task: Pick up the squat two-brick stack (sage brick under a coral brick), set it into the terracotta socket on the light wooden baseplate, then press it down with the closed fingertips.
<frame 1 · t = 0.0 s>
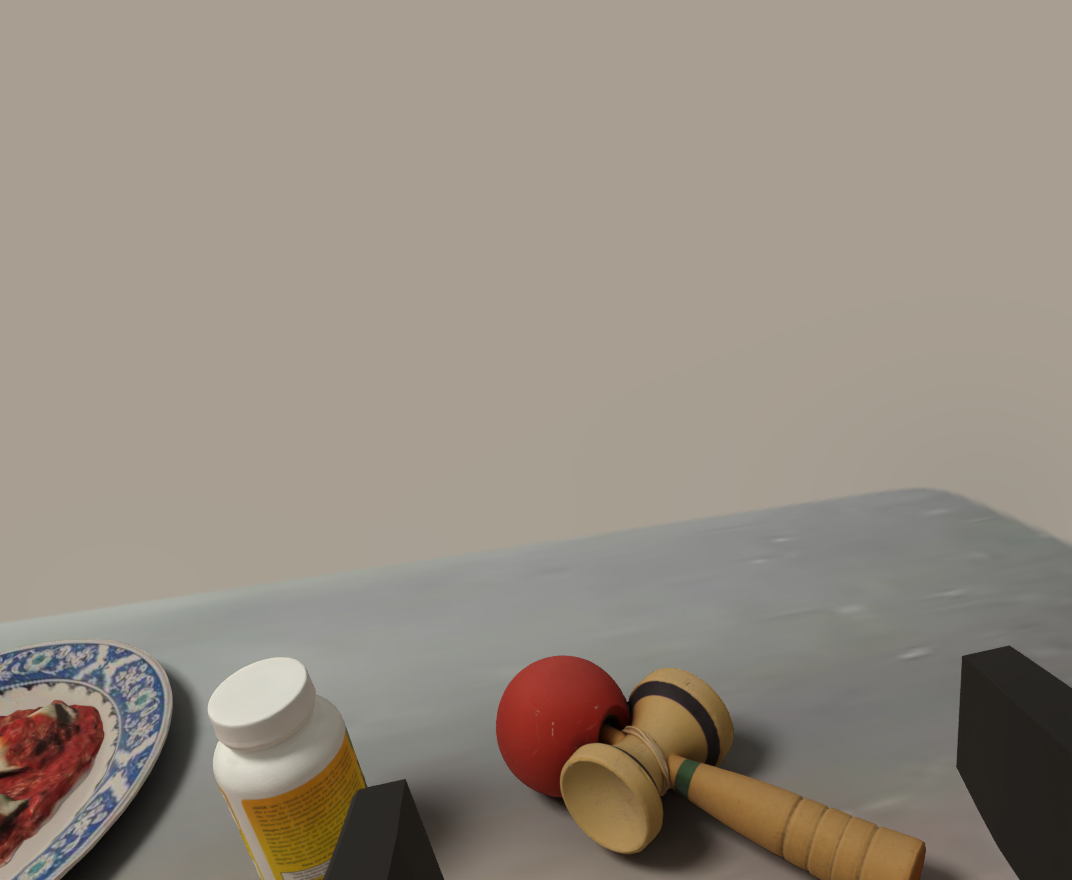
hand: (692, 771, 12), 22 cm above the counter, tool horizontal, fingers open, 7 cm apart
supplement bottle: (328, 862, 40), on the counter
kendama: (696, 824, 38), on the counter
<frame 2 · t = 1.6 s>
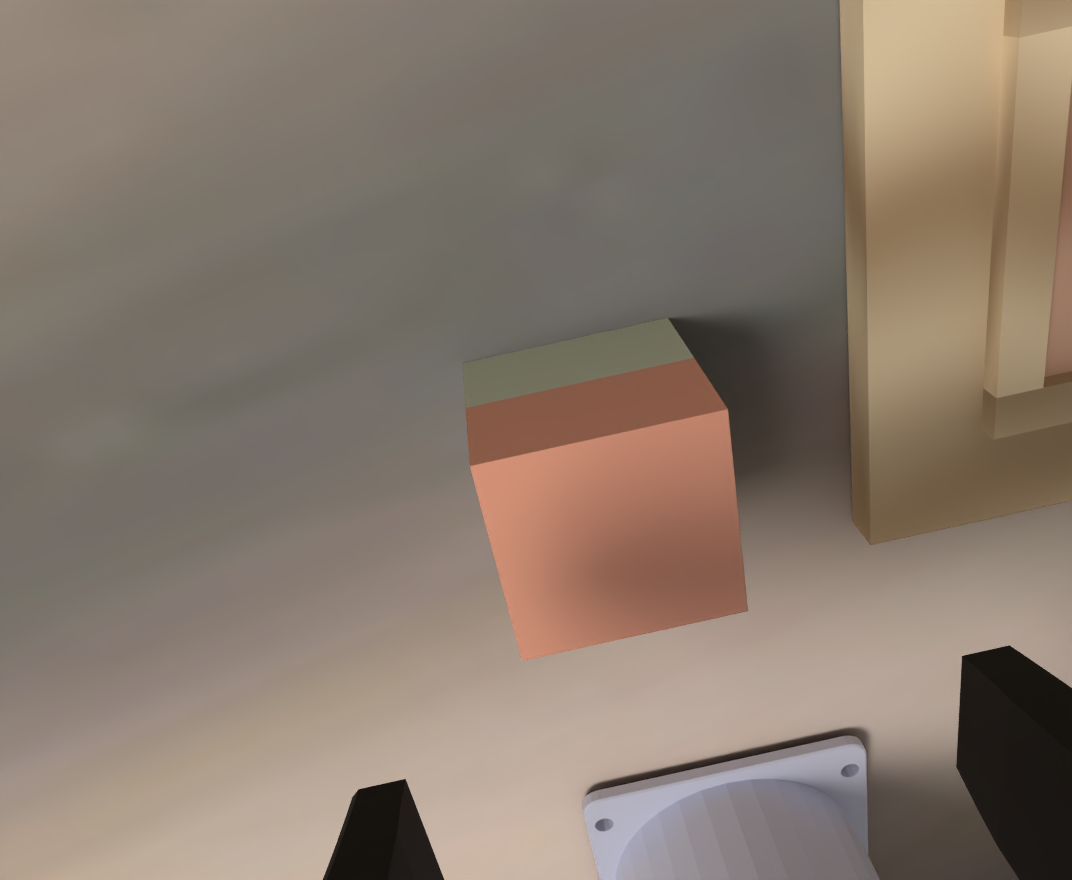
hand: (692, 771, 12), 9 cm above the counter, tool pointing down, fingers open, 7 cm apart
brick stack: (581, 429, 20), on the counter
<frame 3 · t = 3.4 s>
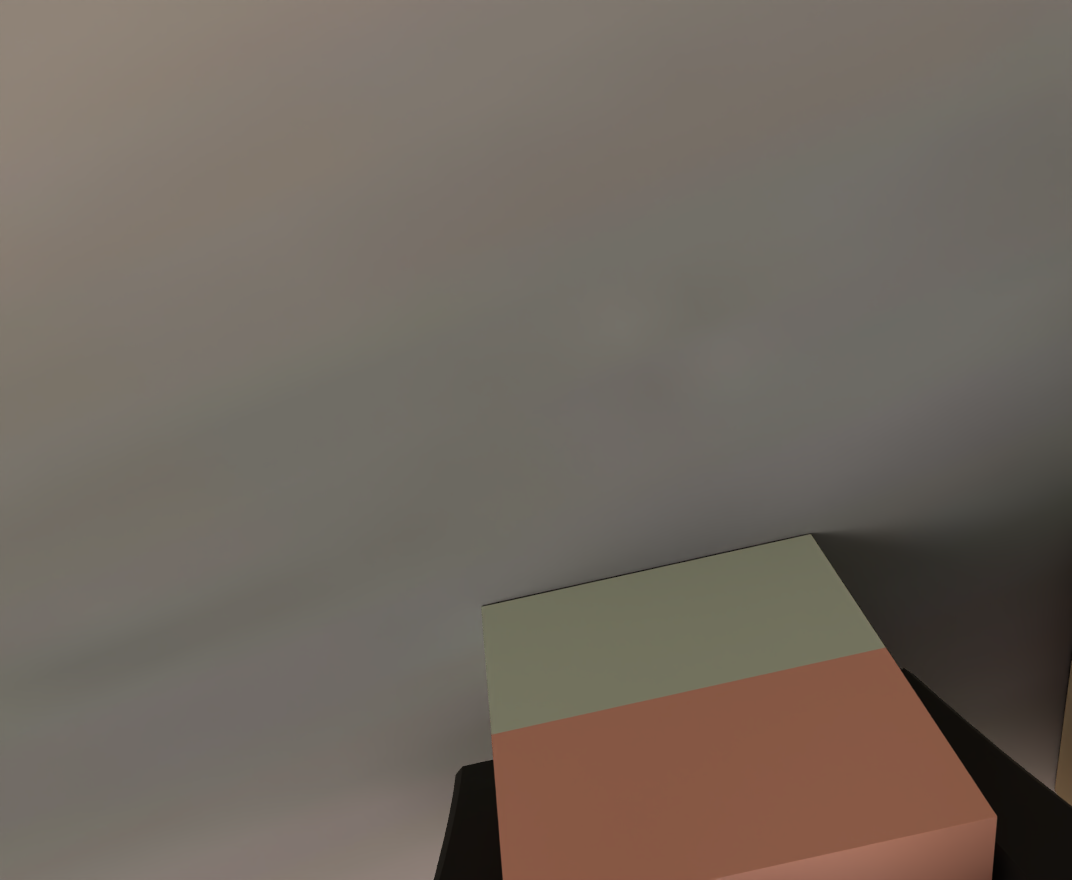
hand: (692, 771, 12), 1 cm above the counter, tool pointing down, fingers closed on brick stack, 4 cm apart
brick stack: (666, 692, 13), on the counter, touching gripper
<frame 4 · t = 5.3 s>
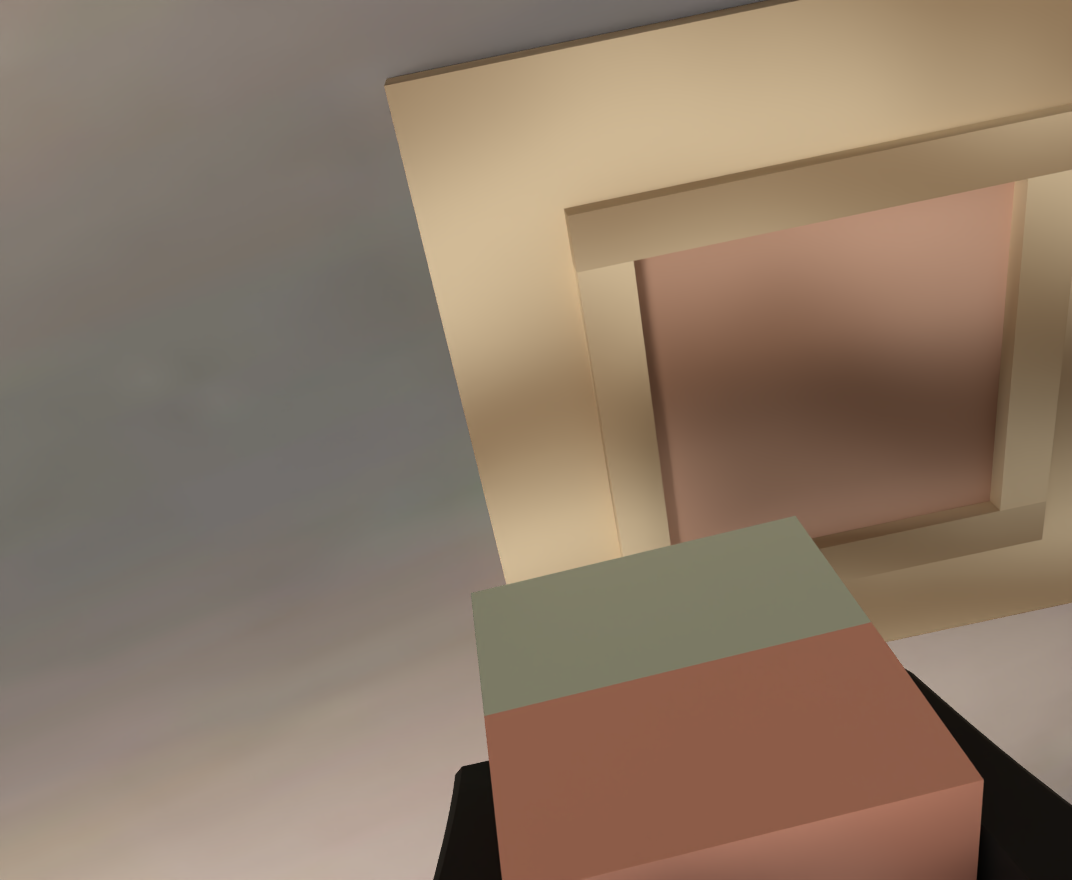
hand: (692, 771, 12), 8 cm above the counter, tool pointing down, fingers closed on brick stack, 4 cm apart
brick stack: (654, 676, 13), point 7 cm above the counter, touching gripper
baseplate: (806, 367, 19), on the counter
when the fingers open (3 cm above the counter, at t = 7.1 s): brick stack stays where it is, resting on baseplate.
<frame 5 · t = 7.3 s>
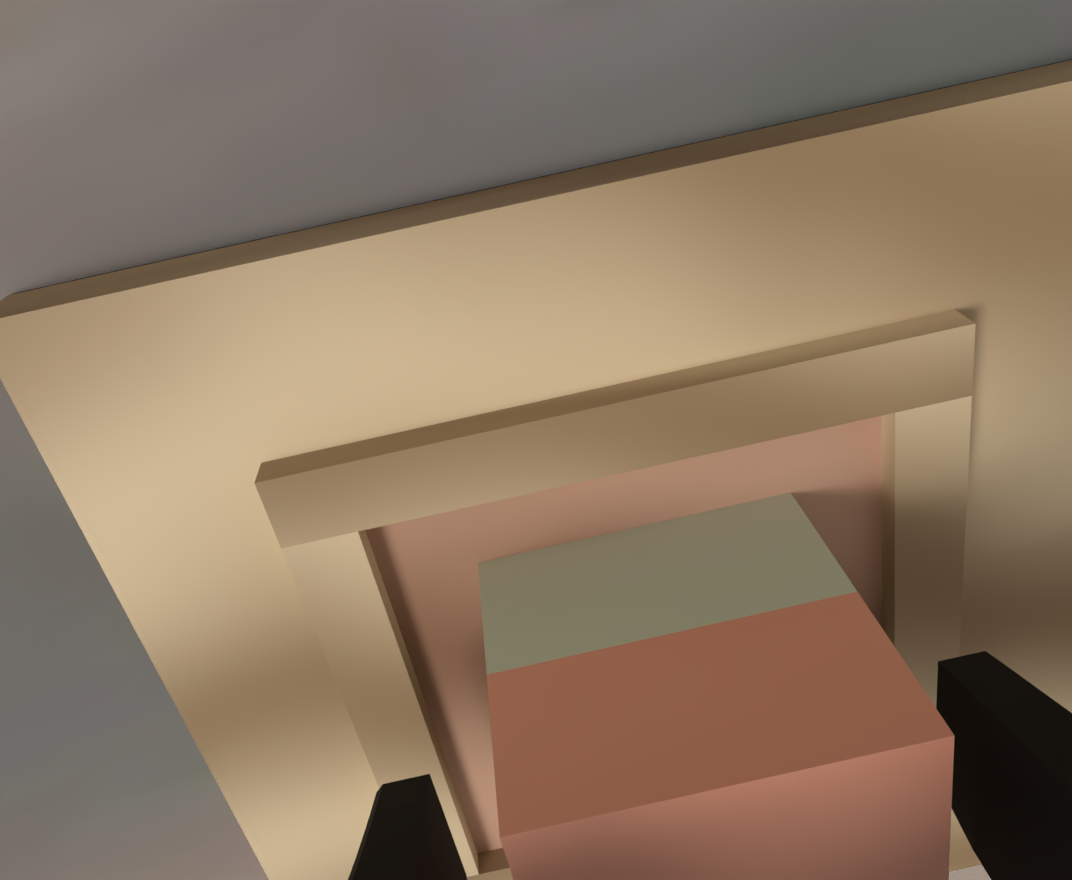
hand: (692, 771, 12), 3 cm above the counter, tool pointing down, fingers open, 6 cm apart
brick stack: (654, 646, 13), point 1 cm above the counter, touching baseplate
baseplate: (639, 608, 14), on the counter
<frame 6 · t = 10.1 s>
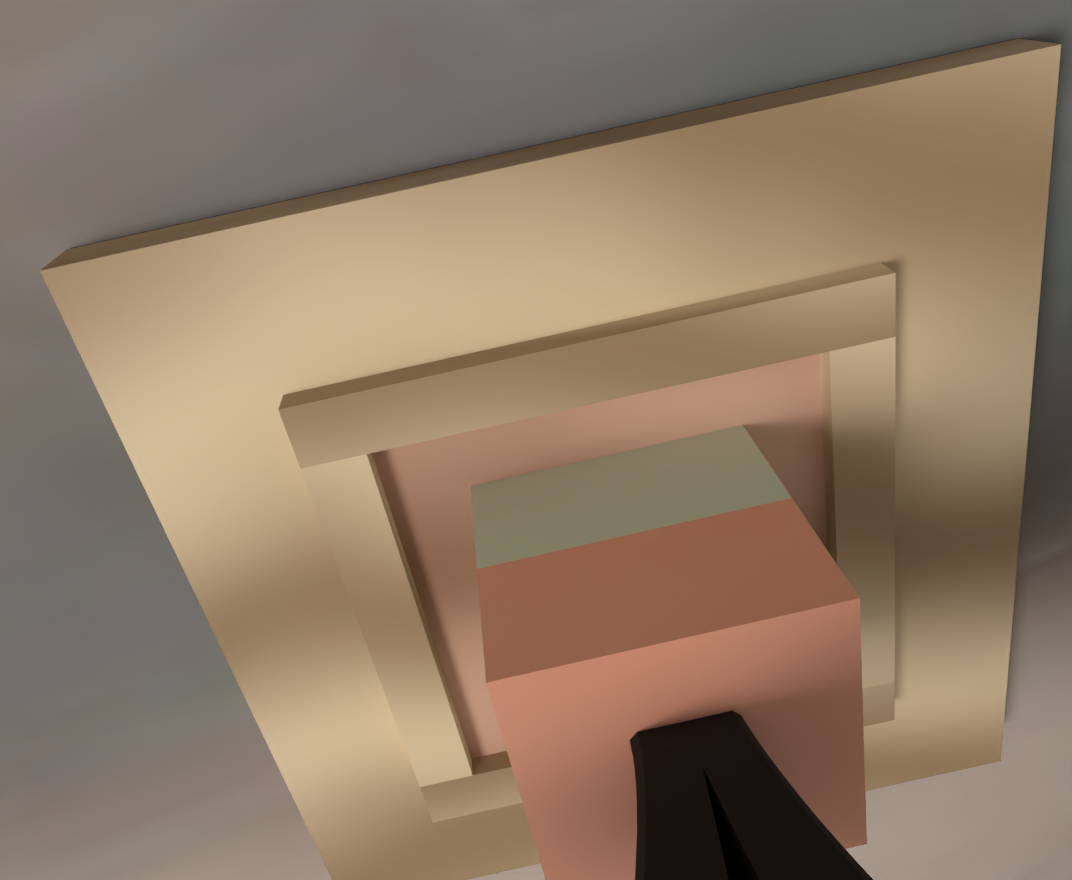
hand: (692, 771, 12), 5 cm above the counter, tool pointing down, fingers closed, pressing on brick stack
brick stack: (626, 565, 15), point 1 cm above the counter, touching baseplate, gripper
baseplate: (614, 536, 16), on the counter
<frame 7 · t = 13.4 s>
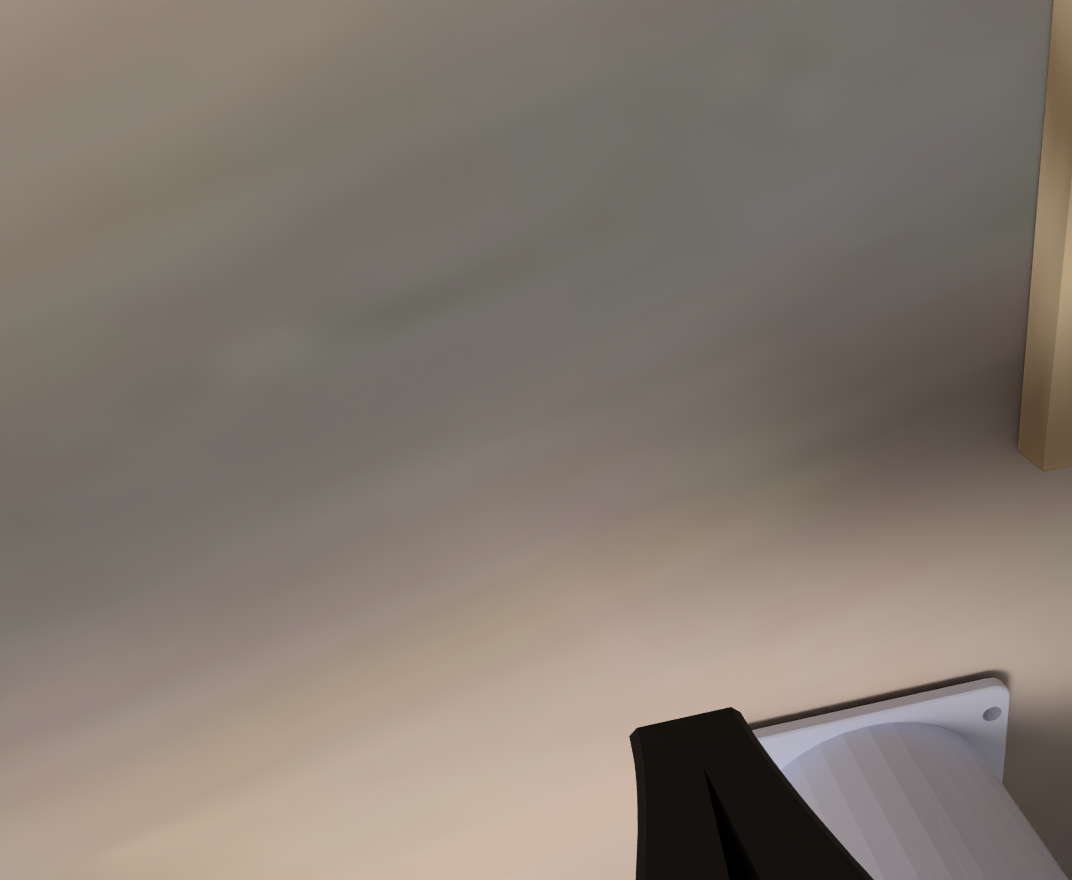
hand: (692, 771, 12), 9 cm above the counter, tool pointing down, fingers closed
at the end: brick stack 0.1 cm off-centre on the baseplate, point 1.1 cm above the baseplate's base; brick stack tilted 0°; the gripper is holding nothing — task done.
